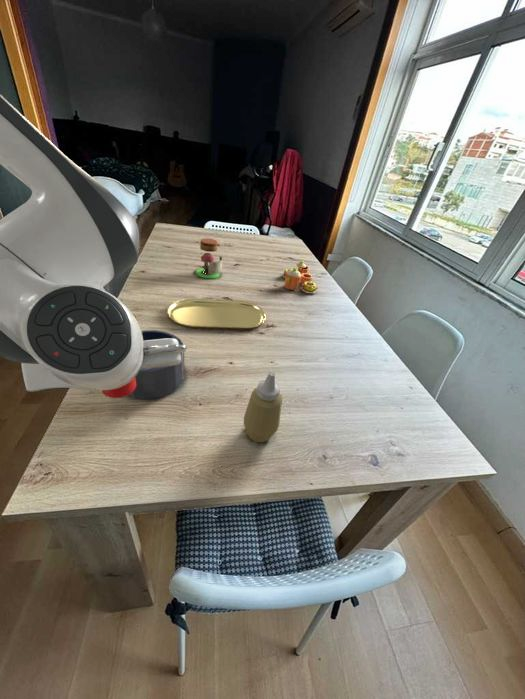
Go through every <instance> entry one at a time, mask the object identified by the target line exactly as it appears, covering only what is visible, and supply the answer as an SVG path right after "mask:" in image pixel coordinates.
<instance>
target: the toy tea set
mask: <svg viewBox="0 0 525 699" xmlns="http://www.w3.org/2000/svg"><path fill="white" fill-rule="evenodd" d="M296 267H297V268H296ZM309 271H310V267H309V266H308V265H306V264H305V263H304V261H303V260H300V262H297V263H296V264H295V267H293V268H291V267H290V268H286V269H285V270H284V271H283V274H282V277H283V278H284V288H285V289H286V290H289V291H296V290H297V289H298V287H299V285H300V284H301V285H302V286H301V288H300V290H301V291H302V292H304V293H306V294H315V293H316V292H317V291H316V290H317V289H318V286H317V284H316V283H315V282H312V280H313V278H314V277H313V275H312V274H310V273H308V272H309Z"/></svg>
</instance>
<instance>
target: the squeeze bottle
mask: <svg viewBox="0 0 525 699" xmlns="http://www.w3.org/2000/svg"><path fill="white" fill-rule="evenodd" d="M282 406H283V396H282V394H281V387H280V385H279V384H278V383H277V382H276V373H275V372H274V371H270V372H268V374H267V376H266V378H265V379H263V380H261V381H259V382H258V384H257V386H256V387H255V388H254V389H253V390H252V392H251V394H250V397H249V400H248V404H247V406H246V409H245V412H244V416H243V425H244V429H245V431H246V434H247V436H248V437H249V439H250V440H252V441H254V442H256V443H264V442H267V441H269V440H270V439H271V438H272V437H273V436H274V435H275V434H276V433H277V432H278V430H279V427H280V422H281V413H282Z"/></svg>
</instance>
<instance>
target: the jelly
mask: <svg viewBox="0 0 525 699" xmlns="http://www.w3.org/2000/svg"><path fill="white" fill-rule="evenodd" d="M135 388H136V378H134V379H133V380H132V381H131V382H129V383H128V384H126V385H124V386H122V387H120V388H117V389H113V390H101V392H102V394H103V395H104V396H105V397H107V398H110V399H119V398H120V399H121V398H125V397H127V396H128V395H129V394H131V393H132V392H133V391H134V390H135Z"/></svg>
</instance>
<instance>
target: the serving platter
mask: <svg viewBox="0 0 525 699" xmlns="http://www.w3.org/2000/svg"><path fill="white" fill-rule="evenodd" d="M166 313H167V316H168V317H169V319H170V320H172V321H173V322H174V323H176V324H178V325H180V326H183V327H188V328H201V329H202V328H204V329H234V330H235V329H237V330H242V329H243V330H247V329H249V330H250V329H254V328H257V327H259V326H261V325H263V324H264V322H265V321H266V319H267V315H266V312H265V311H264V309H262V308H261V307H260V306H258V305H256V304H254V303H251V302H247V301H242V300H225V299H224V300H223V299H204V298H203V299H202V298H186V299H181V300H177V301H174V302H173V303H171V304H170V305H169V306H168V307H167V312H166Z"/></svg>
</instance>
